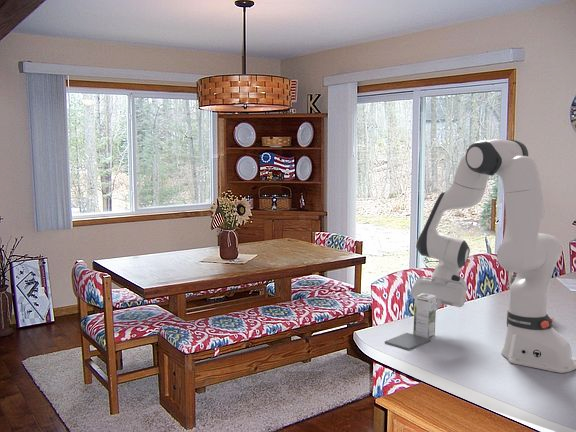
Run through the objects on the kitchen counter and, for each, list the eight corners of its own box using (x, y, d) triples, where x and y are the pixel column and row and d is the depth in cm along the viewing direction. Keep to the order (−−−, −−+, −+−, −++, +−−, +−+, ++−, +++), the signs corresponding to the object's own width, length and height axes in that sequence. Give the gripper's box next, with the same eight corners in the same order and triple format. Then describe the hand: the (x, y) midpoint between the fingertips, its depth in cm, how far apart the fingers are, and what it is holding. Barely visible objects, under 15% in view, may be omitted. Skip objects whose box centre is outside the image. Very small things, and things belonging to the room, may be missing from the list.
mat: (431, 340, 199) (431, 339, 199) (409, 350, 190) (409, 348, 190) (406, 334, 206) (406, 332, 206) (384, 343, 197) (384, 341, 197)
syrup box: (420, 331, 209) (421, 292, 207) (435, 334, 205) (436, 295, 204) (413, 335, 205) (413, 295, 203) (428, 339, 201) (429, 298, 199)
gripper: (415, 271, 218) (401, 301, 212) (467, 279, 205) (454, 311, 199) (421, 280, 222) (407, 310, 216) (472, 288, 208) (459, 321, 202)
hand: (430, 311), depth 207 cm, fingers closed
